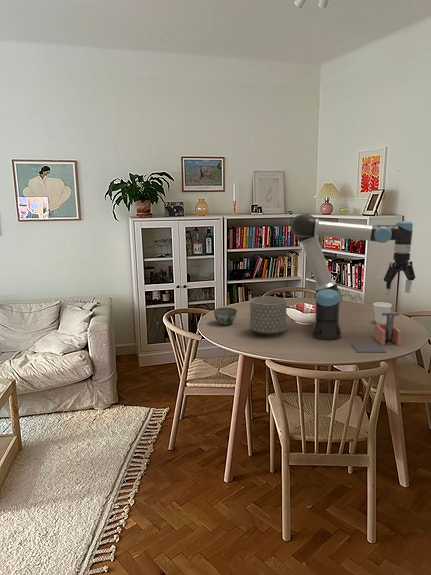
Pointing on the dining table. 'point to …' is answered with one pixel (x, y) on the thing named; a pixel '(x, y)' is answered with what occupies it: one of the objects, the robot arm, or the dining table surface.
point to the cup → (380, 309)
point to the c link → (381, 334)
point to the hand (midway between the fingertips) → (398, 293)
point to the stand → (389, 327)
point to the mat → (367, 347)
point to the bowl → (225, 315)
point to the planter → (268, 315)
